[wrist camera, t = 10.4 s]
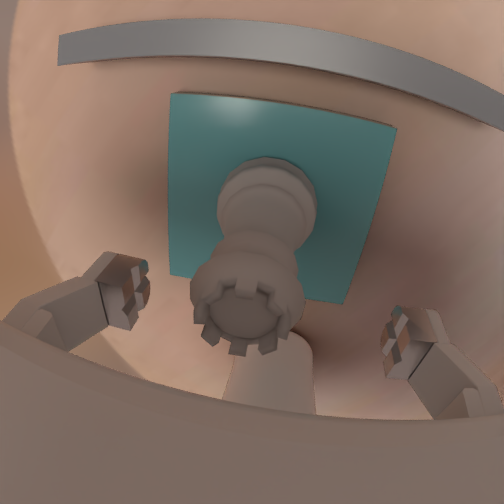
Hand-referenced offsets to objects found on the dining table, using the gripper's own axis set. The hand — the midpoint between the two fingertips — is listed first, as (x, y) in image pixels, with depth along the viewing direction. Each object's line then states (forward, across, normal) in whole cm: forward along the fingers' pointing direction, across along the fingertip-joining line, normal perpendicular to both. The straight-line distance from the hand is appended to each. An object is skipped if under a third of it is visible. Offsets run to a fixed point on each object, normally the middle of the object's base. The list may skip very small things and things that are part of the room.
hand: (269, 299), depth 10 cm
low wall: (+7, -1, +8) cm, 10 cm away
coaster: (+7, -1, 0) cm, 7 cm away
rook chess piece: (+6, -1, +1) cm, 6 cm away
